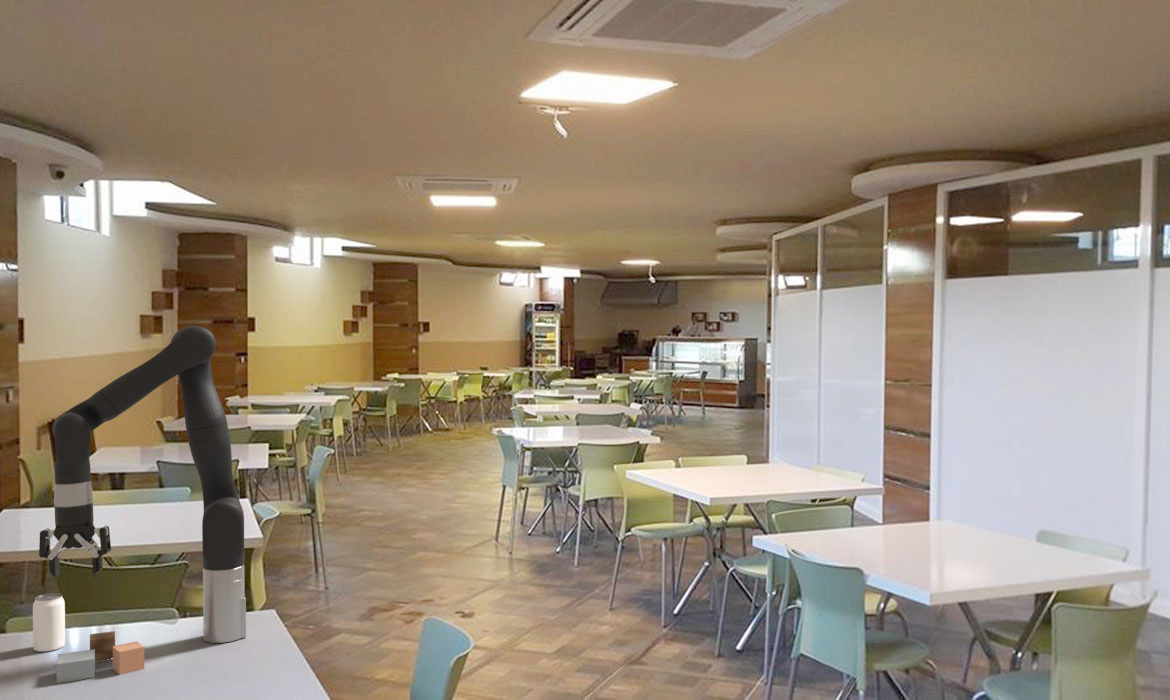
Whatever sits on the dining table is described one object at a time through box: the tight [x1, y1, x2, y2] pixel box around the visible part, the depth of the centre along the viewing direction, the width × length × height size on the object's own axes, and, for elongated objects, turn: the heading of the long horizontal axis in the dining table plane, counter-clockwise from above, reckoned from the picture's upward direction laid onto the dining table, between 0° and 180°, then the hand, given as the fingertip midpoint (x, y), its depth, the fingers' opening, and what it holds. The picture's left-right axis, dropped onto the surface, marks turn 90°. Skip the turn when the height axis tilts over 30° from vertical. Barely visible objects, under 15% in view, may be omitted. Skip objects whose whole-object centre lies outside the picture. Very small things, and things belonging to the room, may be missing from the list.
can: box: [32, 592, 66, 653], centre depth 216 cm, size 6×6×12 cm
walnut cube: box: [89, 630, 116, 662], centre depth 210 cm, size 5×5×5 cm
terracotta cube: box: [112, 640, 145, 675], centre depth 203 cm, size 5×5×5 cm
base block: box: [56, 649, 96, 684], centre depth 199 cm, size 7×7×4 cm
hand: (76, 574), depth 208 cm, fingers open, 8 cm apart
